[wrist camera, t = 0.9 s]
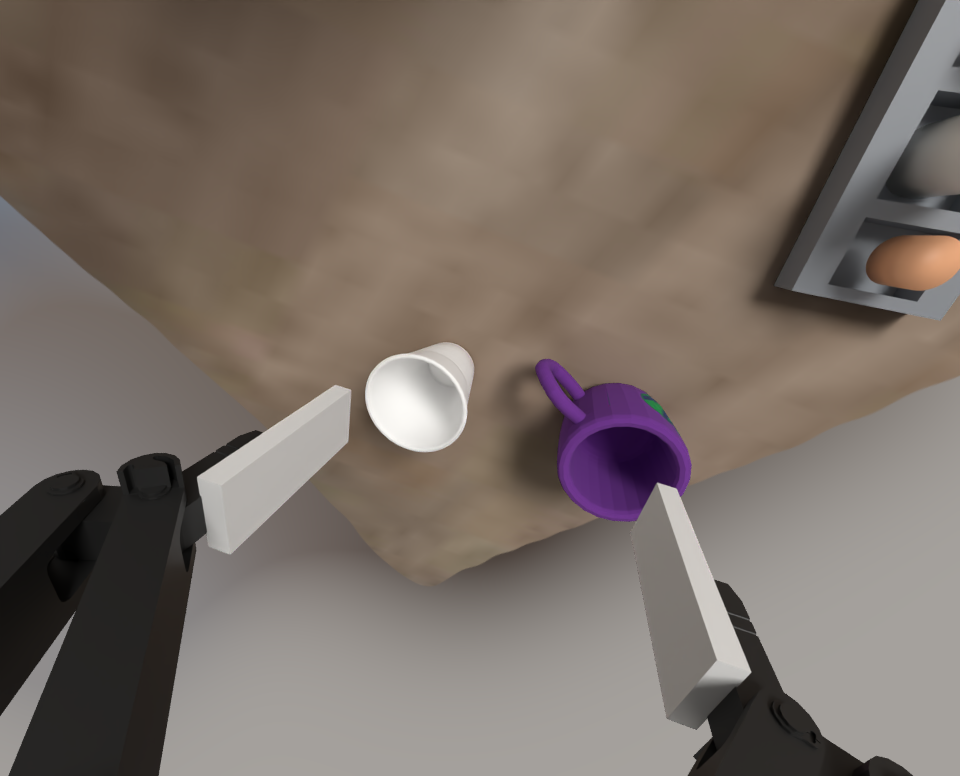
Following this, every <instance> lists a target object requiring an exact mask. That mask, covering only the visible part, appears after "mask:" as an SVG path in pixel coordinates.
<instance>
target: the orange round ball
mask: <svg viewBox="0 0 960 776" xmlns="http://www.w3.org/2000/svg"><path fill="white" fill-rule="evenodd" d="M959 269H960V241H959V240H957V239H956V238H953V237H950V236H932V235H901V236H896V237H893V238H890V239H888V240H886V241H884V242H883V243H881V244H880V245H879V246H877V247H876V248H875V249H874V250H873V252H872V253H871V254H870V256H869V258H868V260H867V263H866V274H867V276H868V277H869V279H870V280H871V281H873V282H874V283H877V284H880V285H886V286H892V287H897V288H903V289H909V290H915V291H922V290H928V289H932V288H935V287H937V286H940V285H942V284H943V283H945V282H947V281H948V280H949V279H951V278H952V277H953V276H954V275H955V274H956V273H957V272H958V270H959Z"/></svg>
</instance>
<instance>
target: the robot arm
mask: <svg viewBox="0 0 960 776" xmlns="http://www.w3.org/2000/svg"><path fill="white" fill-rule="evenodd" d="M350 403H351V390H350V389H347V388H344V387H340V386H337V385H334V386H333V387H331V388H330V389H328V390H327V391H325V392H324V393H322V394H321V395H319V396H318V397H316V398H315V399H313V400H312V401H310V402H309V403H307V404H306V405H304V406H303V407H301V408H300V409H298V410H297V411H295V412H294V413H292V414H291V415H289V416H288V417H286V418H285V419H283V420H282V421H280V422H279V423H277V424H276V425H274V426H273V427H271V428H270V429H268V430H267V431H265V432H264V433H263V432H260V431H256V430H255V431H252V432H249V433H246V434H244V435H240V436H238V437H237V438H235V439H234V440H232V441H231V442H229V443H227V445H226V446H222V447H221V448H219V449H218V450H216V452H215V453H214V452H213V453H211V454H210V455H208V456H206V457H205V458H203V459H202V460H200V461H199V462H197V463H195V464H194V465H192V466H191V467H189V468H187V469H186V470H184V471H183V472H182V470H181V464H180V460H179V458H177V457H176V456H175V455H171V454H167V453H154V454H149V455H143V456H140V457H137V458H134V459H132V460H130V461H128V462H127V463H125V464H123V465H122V466H121V467H120V468H119V469H118V471H117V474H118V478H119V482H120V485H121V486H105V485H102V482H101V479H100V476H99V474H98V473H96V472H94V471H88V470H75V471H68V472H64V473H60V474H56V475H54V476H52V477H49V478H47V479H44V480H43V481H41V482H40V483H38V484H36V485H35V486H34V487H33V488H31V489H30V490H29V491H28V492H27V493H26V494H24V495H23V496H22V497H21V498H20V499H19V500H18V501H16V502H15V503H14V504H13V505H12V506H11V507H10V508H8V509H7V510H6V511H5V512H4V513H3V514H1V515H0V716H1V714H2V713H3V711H4V710H5V709H6V707H7V706H8V704H9V703H10V702H11V700H12V699H13V698H14V696H15V695H16V693H17V692H18V690H19V689H20V688H21V686H22V685H23V684H24V682H25V681H26V679H27V678H28V677H29V675H30V674H31V672H32V671H33V670H34V668H35V667H36V665H37V664H38V663H39V661H40V660H41V658H42V657H43V655H44V654H45V652H46V651H47V650H48V649H49V647H50V646H51V644H52V643H53V642H54V640H55V639H56V637H57V636H58V635H59V633H60V632H61V631H62V629H63V628H64V626H65V625H66V624H67V622H68V621H69V619H70V618H71V617H72V615H73V614H74V612H75V611H76V612H75V615H74V617H73V619H72V622H71V624H70V627H69V629H68V632H67V634H66V637H65V639H64V642H63V644H62V646H61V649H60V651H59V654H58V657H57V658H56V661H55V664H54V666H53V669H52V671H51V673H50V676H49V678H48V681H47V683H46V685H45V688H44V690H43V693H42V695H41V698H40V700H39V702H38V705H37V707H36V710H35V712H34V715H33V717H32V720H31V722H30V724H29V727H28V729H27V732H26V734H25V737H24V739H23V741H22V744H21V746H20V749H19V751H18V754H17V756H16V759H15V761H14V764H13V766H12V769H11V771H10V773H9V776H158V775H159V770H160V763H161V757H162V751H163V745H164V739H165V734H166V728H167V722H168V716H169V710H170V703H171V698H172V691H173V686H174V680H175V674H176V668H177V662H178V656H179V650H180V644H181V638H182V632H183V626H184V620H185V614H186V608H187V602H188V596H189V590H190V584H191V578H192V572H193V566H194V560H195V554H196V544H195V542H196V541H197V540H199V539H200V538H201V537H202V536H203V535H204V534H206V535H207V541H208V546H209V547H211V548H214V549H216V550H219V551H221V552H224V553H227V554H229V555H231V554H232V553H233V552H234V551H235V550H236V549H237V548H238V547H239V546H240V545H241V544H242V543H243V542H244V541H245V540H246V539H247V538H248V537H249V536H250V535H252V534H253V532H255V531H256V530H257V529H258V528H259V527H260V526H261V525H262V524H263V523H264V522H265V521H266V520H267V519H268V518H269V517H270V516H271V515H272V514H273V513H274V512H275V511H276V510H277V509H279V508H280V507H281V505H283V504H284V503H285V502H286V501H287V500H288V499H289V498H290V497H291V496H292V495H293V494H294V493H295V492H296V491H297V490H298V489H299V488H300V487H302V485H304V483H306V482H307V481H308V480H309V479H310V478H311V477H312V476H313V475H314V474H315V473H316V472H317V471H318V470H319V469H320V468H321V467H322V466H323V465H324V464H326V463H327V462H328V461H329V460H330V459H331V458H332V457H333V456H334V455H335V454H336V453H337V452H338V451H339V450H340V449H341V448H342V447H343V446H344V445H345V444H346V443H347V442H348V437H349V420H350ZM630 533H631V539H632V543H633V548H634V554H635V559H636V564H637V569H638V574H639V579H640V584H641V589H642V595H643V600H644V605H645V610H646V615H647V620H648V625H649V631H650V636H651V641H652V646H653V651H654V656H655V661H656V666H657V672H658V677H659V682H660V687H661V692H662V697H663V702H664V707H665V712H666V718H667V719H669V720H671V721H674V722H677V723H680V724H682V725H685V726H687V727H690V728H693V729H696V730H697V729H698V728H699V727H700V726H701V725H702V724H703V722H704V721H705V720H706V719H707V718H708V722H709V725H710V729H711V732H712V736H713V737H712V738H711V739H710V740H709V741H708V742H707V743H706V744H705V745H704V746H703V747H702V748H701V749H700V750H699V751H698V752H697V753H696V754H695V755H694V756H693V757H694V758H695V759H696V760H697V761H696V762H695V764H694V766H693V767H692V769H691V771H690V773H689V774H688V776H913V775H912V774H910V773H909V772H908V771H907V770H906V769H904V768H903V767H902V766H900V765H898V764H896V763H895V762H893V761H891V760H889V759H887V758H883V757H879V756H875V757H873V758H872V759H870V760H868V761H867V762H865V763H862V762H861V761H859V760H858V759H856V758H855V757H853V756H851V755H850V754H849V753H847V752H846V751H844V750H842V749H841V748H839V747H838V746H836V745H835V744H833V743H832V742H830V741H829V740H827V739H826V738H824V737H823V736H822V735H821V733H820V730H819V728H818V727H817V725H816V724H815V722H814V721H813V720H812V718H811V717H810V715H809V714H808V713H807V712H806V711H805V710H804V709H803V708H802V707H801V706H800V705H799V704H798V703H797V702H796V701H795V700H793V699H792V698H791V697H789V696H788V695H787V694H785V693H784V692H783V690H782V688H781V686H780V683H779V681H778V679H777V677H776V675H775V672H774V670H773V668H772V666H771V664H770V662H769V659H768V657H767V655H766V653H765V651H764V648H763V646H762V644H761V642H760V640H759V638H758V637H757V636H756V631H755V629H754V627H753V625H752V623H751V622H750V621H749V619H750V618H749V616H748V614H747V611H746V609H745V607H744V605H743V603H742V601H741V600H740V598H739V597H738V596H737V595H736V593H735V592H734V591H733V590H732V588H731V587H730V586H729V585H728V584H726V583H723V582H720V581H717V580H714V579H713V576H712V574H711V572H710V569H709V567H708V564H707V562H706V559H705V557H704V554H703V552H702V550H701V547H700V545H699V542H698V540H697V537H696V535H695V532H694V530H693V527H692V525H691V522H690V520H689V518H688V515H687V513H686V510H685V508H684V505H683V503H682V501H681V498H680V495H679V493H678V490H677V489H676V488H673V487H670V486H666V485H663V484H660V483H656V485H655V487H654V489H653V491H652V493H651V495H650V496H649V498H648V500H647V502H646V504H645V506H644V508H643V510H642V511H641V513H640V515H639V517H638V519H637V521H636V523H635V525H634V527H633V528H632V530H631V532H630Z"/></svg>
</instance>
